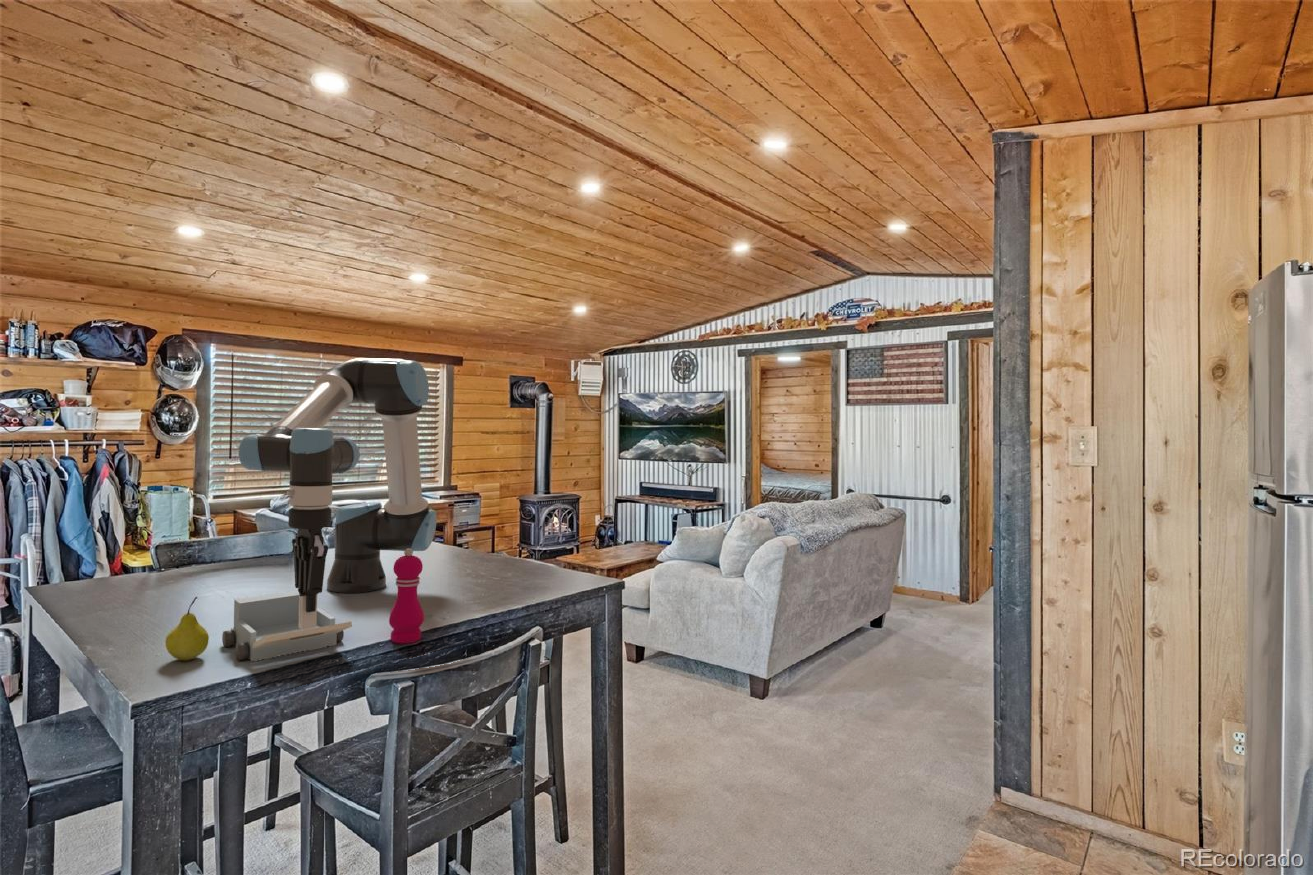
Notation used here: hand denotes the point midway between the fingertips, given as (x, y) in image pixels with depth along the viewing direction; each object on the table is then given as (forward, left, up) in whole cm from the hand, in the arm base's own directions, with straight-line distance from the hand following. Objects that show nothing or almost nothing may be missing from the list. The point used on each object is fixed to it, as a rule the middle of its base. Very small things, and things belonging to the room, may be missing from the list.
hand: (307, 627), depth 137 cm
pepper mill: (-2, +21, -7) cm, 22 cm away
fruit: (-16, -17, -7) cm, 24 cm away
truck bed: (-14, 0, -7) cm, 16 cm away
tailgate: (-6, 0, -4) cm, 7 cm away
